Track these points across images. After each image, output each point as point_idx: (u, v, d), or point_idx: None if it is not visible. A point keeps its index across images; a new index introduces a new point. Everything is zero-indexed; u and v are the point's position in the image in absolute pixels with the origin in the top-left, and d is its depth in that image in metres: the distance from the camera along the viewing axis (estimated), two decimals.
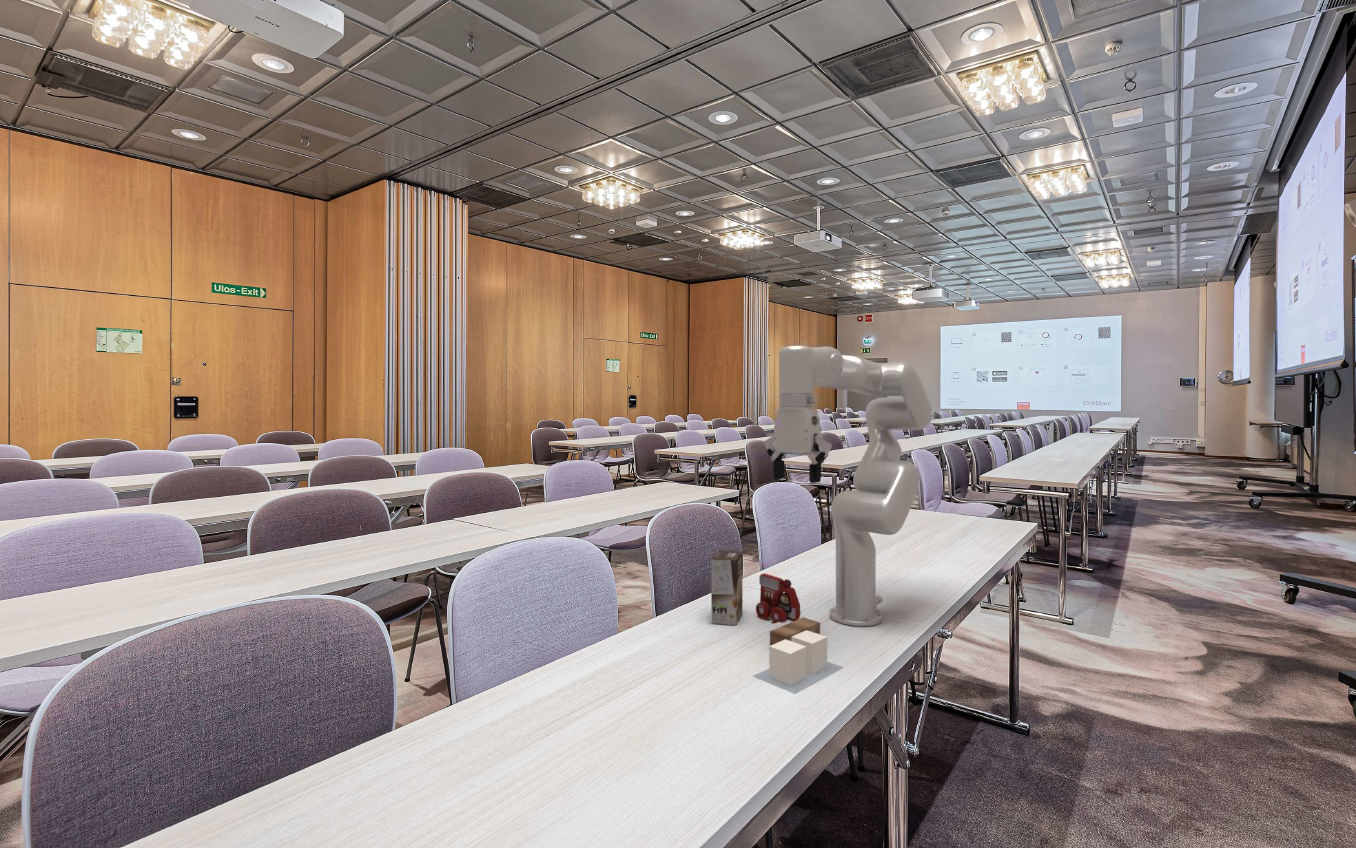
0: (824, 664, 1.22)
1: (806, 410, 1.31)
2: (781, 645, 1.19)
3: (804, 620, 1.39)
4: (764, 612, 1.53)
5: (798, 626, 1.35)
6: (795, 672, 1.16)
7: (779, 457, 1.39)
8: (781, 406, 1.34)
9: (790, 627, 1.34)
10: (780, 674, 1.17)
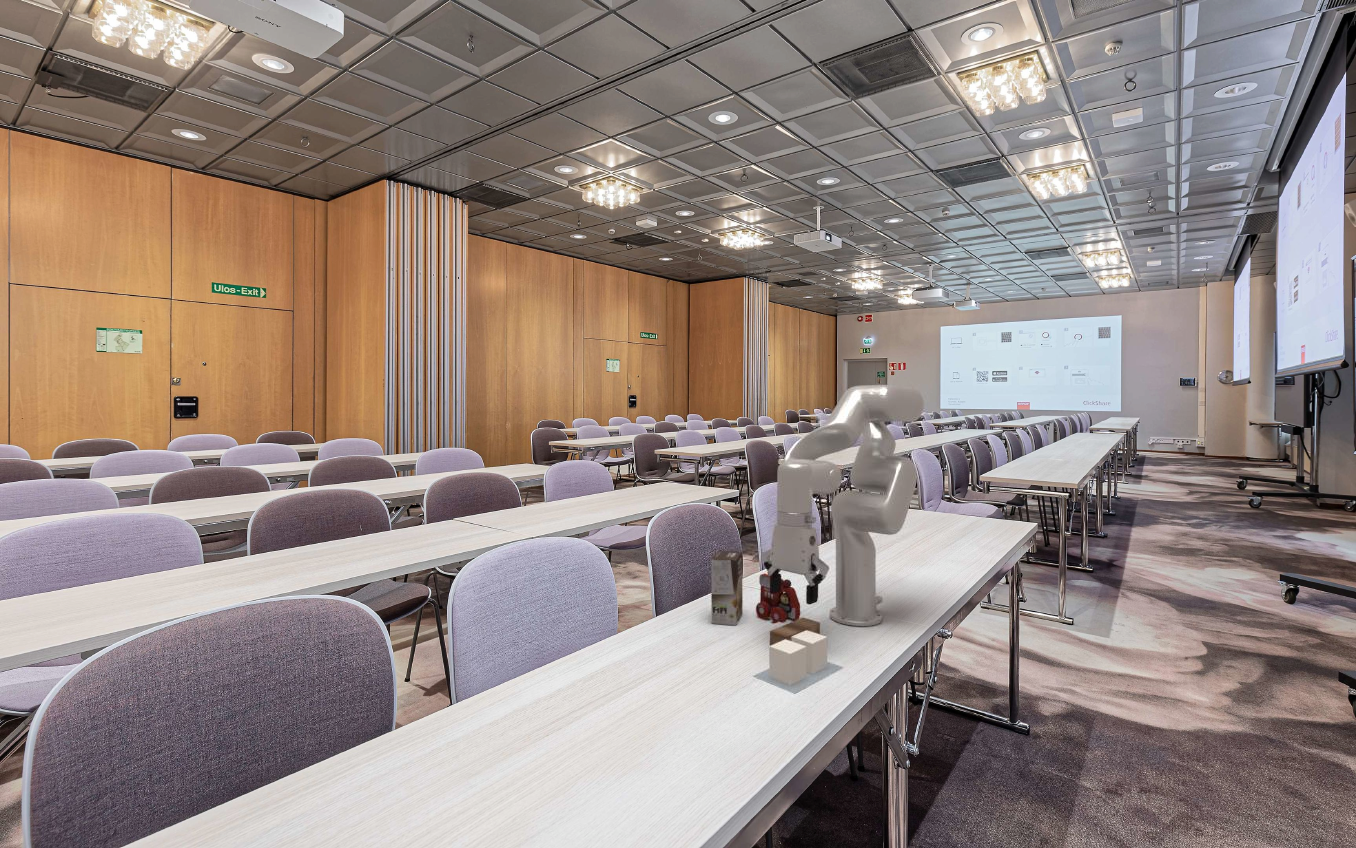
0: (824, 664, 1.22)
1: (804, 530, 1.30)
2: (781, 645, 1.19)
3: (804, 620, 1.39)
4: (764, 612, 1.53)
5: (798, 626, 1.35)
6: (795, 672, 1.16)
7: (776, 571, 1.38)
8: (779, 523, 1.33)
9: (790, 627, 1.34)
10: (780, 674, 1.17)
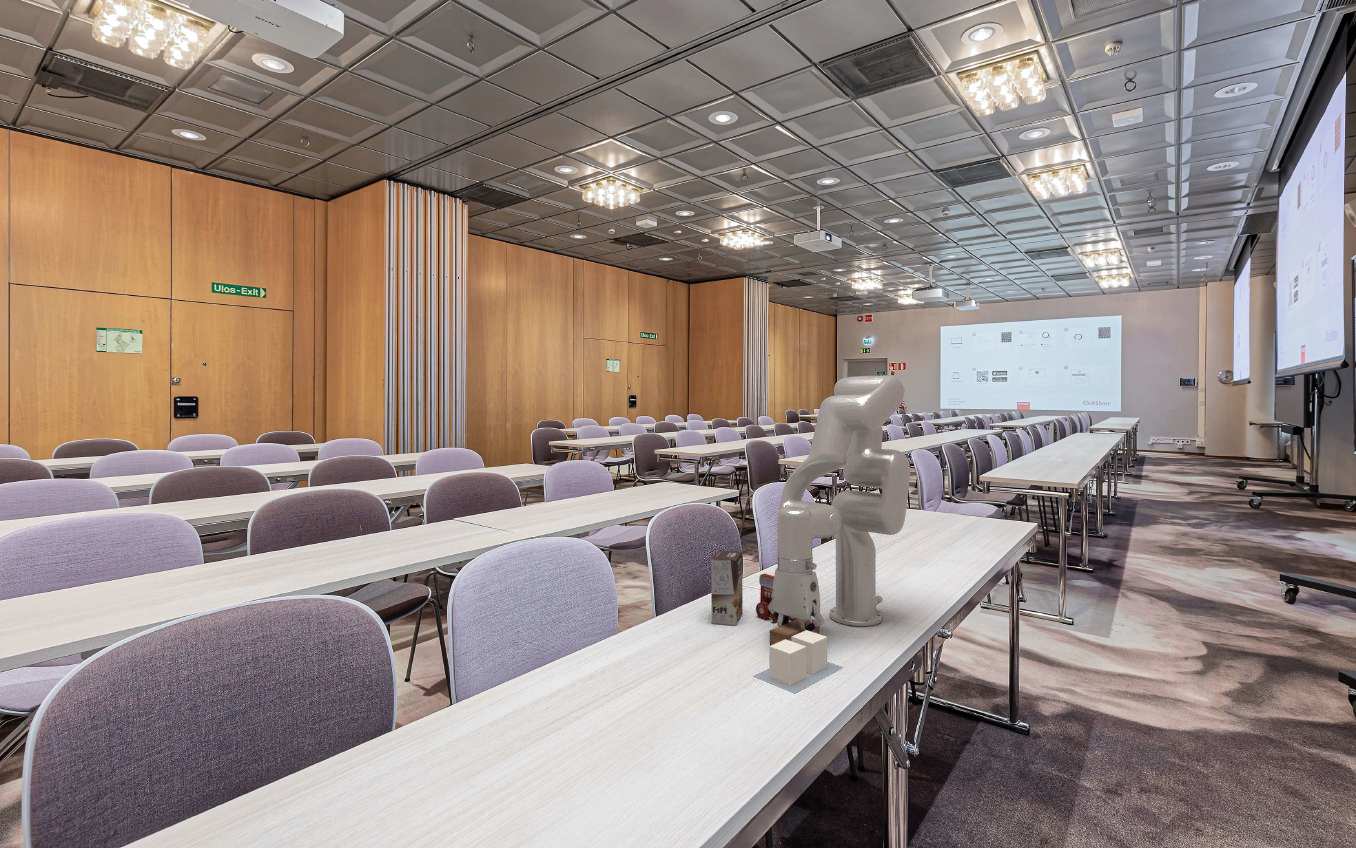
0: (824, 664, 1.22)
1: (805, 577, 1.30)
2: (781, 645, 1.19)
3: None
4: (764, 612, 1.53)
5: (798, 625, 1.35)
6: (795, 672, 1.16)
7: (785, 621, 1.37)
8: (779, 569, 1.33)
9: (790, 626, 1.34)
10: (780, 674, 1.17)
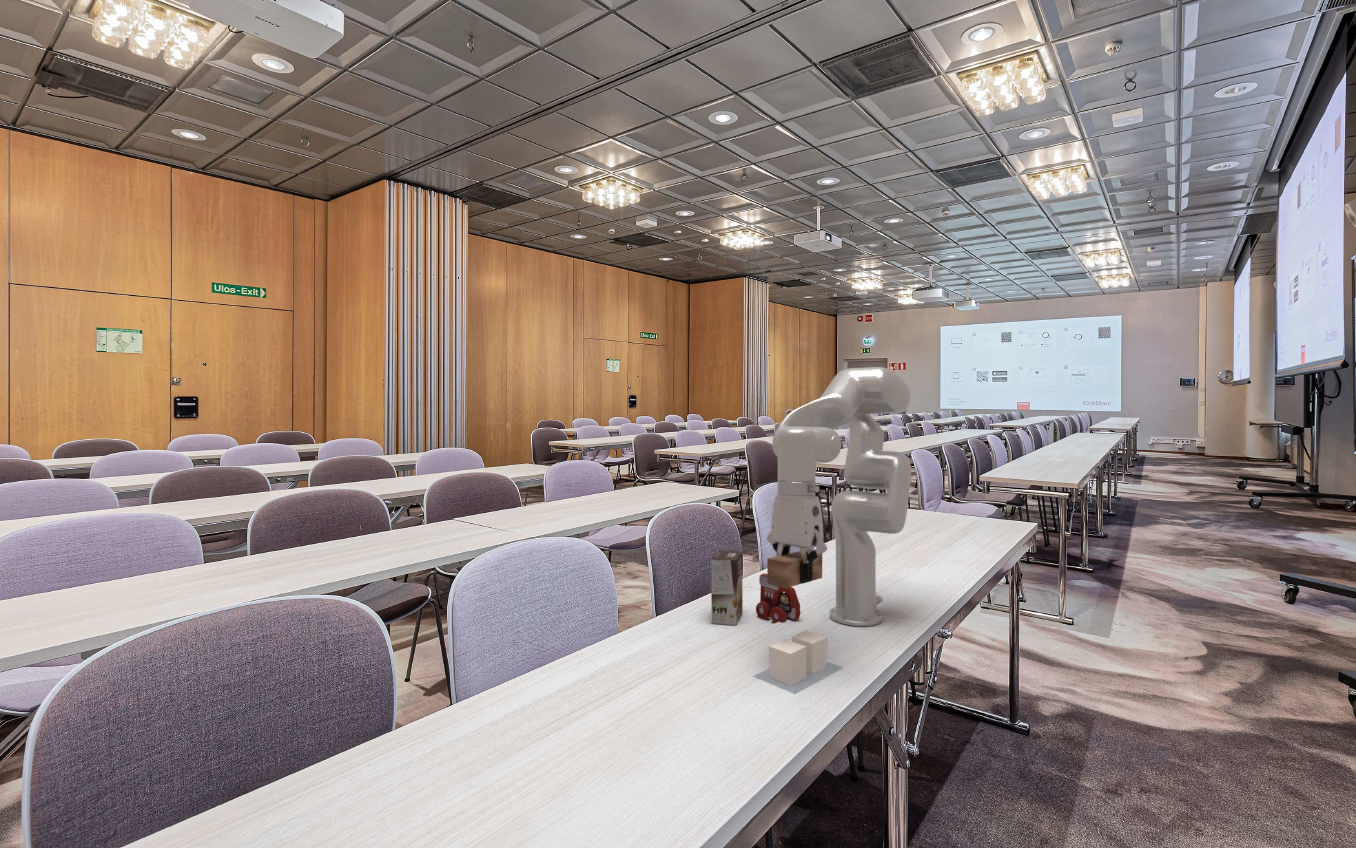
0: (824, 664, 1.22)
1: (806, 500, 1.20)
2: (781, 645, 1.19)
3: None
4: (764, 612, 1.53)
5: (799, 556, 1.25)
6: (795, 672, 1.16)
7: (785, 552, 1.27)
8: (779, 493, 1.23)
9: (789, 556, 1.24)
10: (780, 674, 1.17)
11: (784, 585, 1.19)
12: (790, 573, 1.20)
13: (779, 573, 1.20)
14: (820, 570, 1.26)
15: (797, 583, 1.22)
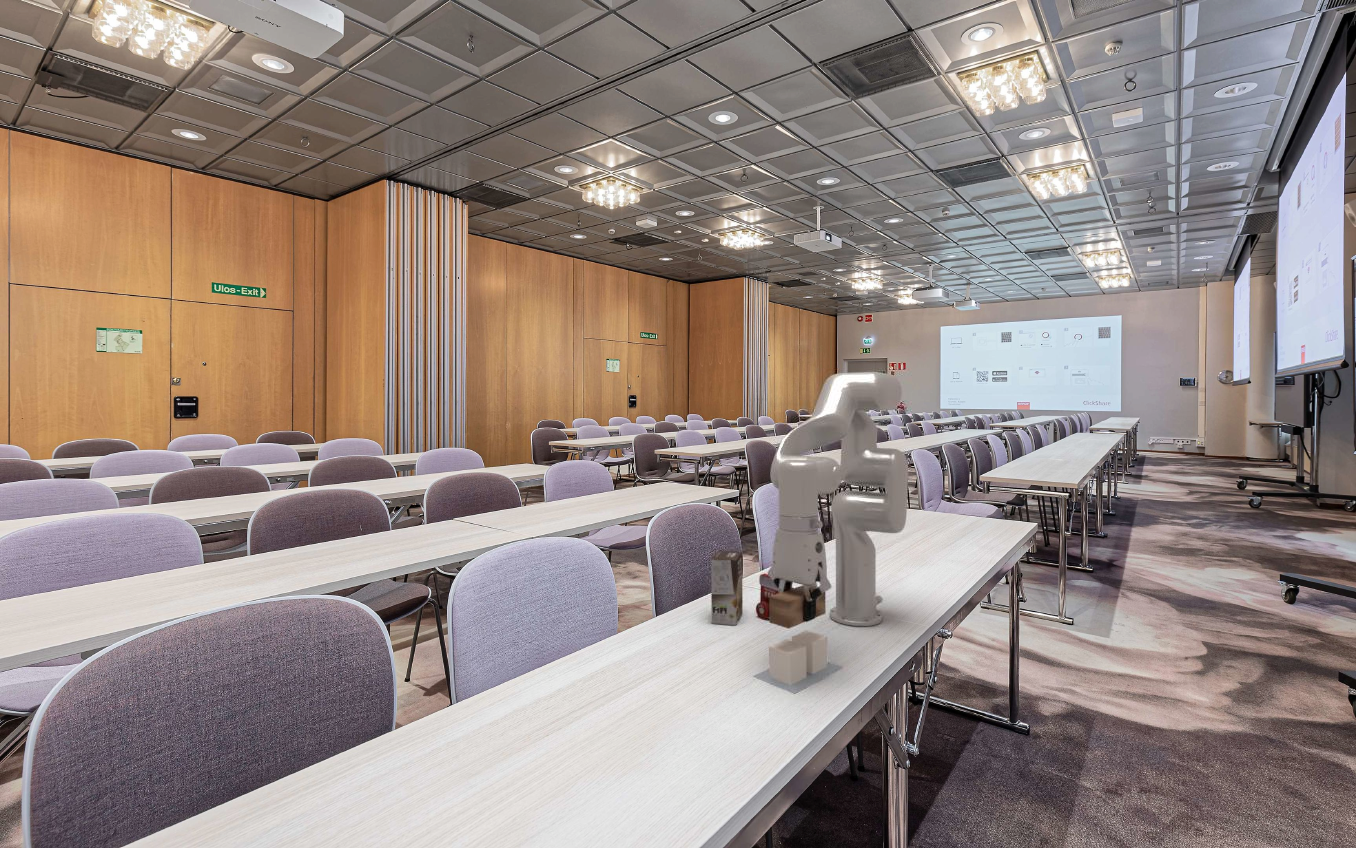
0: (824, 664, 1.22)
1: (809, 536, 1.16)
2: (781, 645, 1.19)
3: None
4: (764, 612, 1.53)
5: (801, 592, 1.20)
6: (795, 672, 1.16)
7: (787, 587, 1.22)
8: (781, 529, 1.19)
9: (792, 593, 1.20)
10: (780, 674, 1.17)
11: (787, 625, 1.15)
12: (794, 613, 1.16)
13: (782, 613, 1.15)
14: (823, 606, 1.22)
15: (800, 622, 1.17)
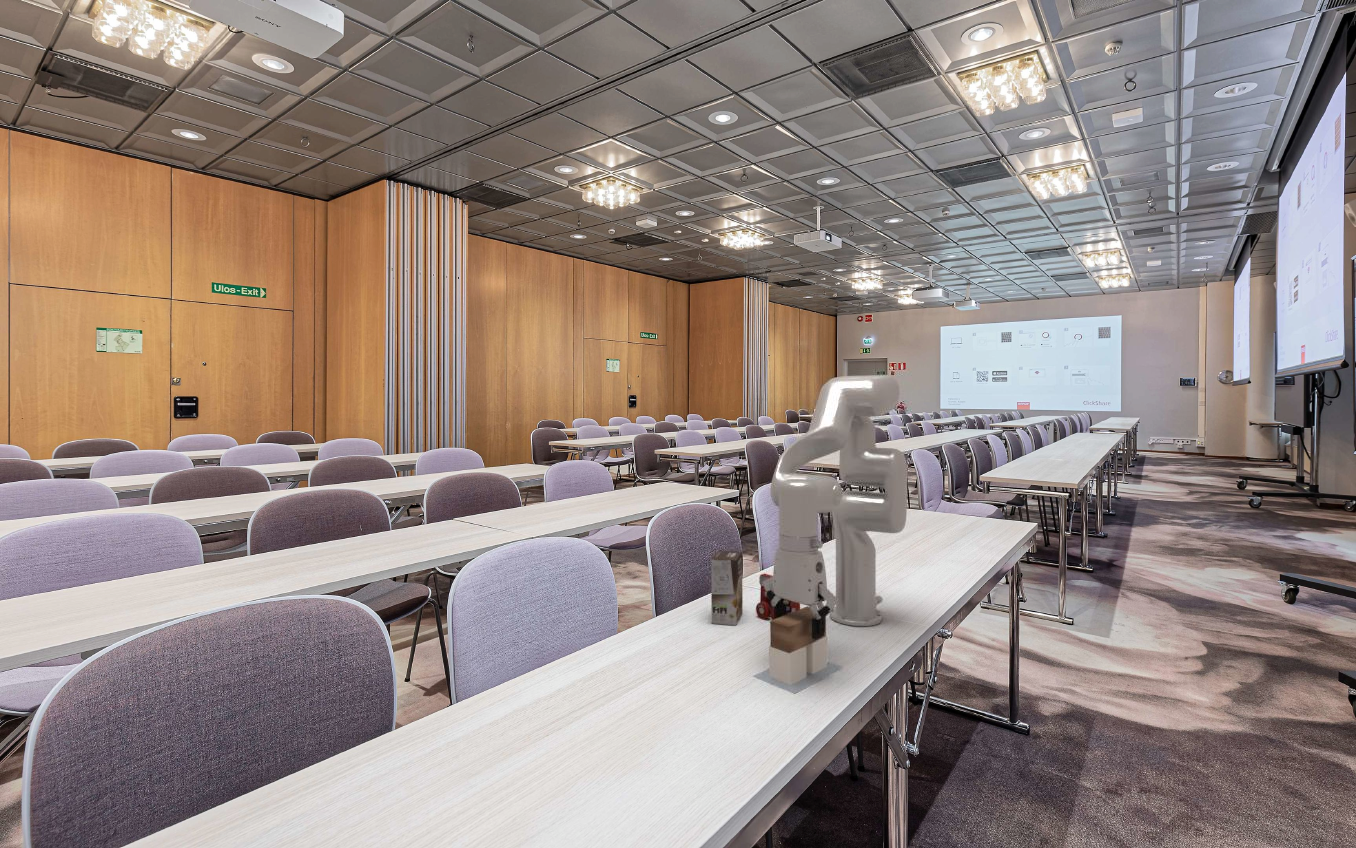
0: (824, 664, 1.22)
1: (809, 556, 1.16)
2: None
3: (808, 609, 1.24)
4: (764, 612, 1.53)
5: (802, 616, 1.21)
6: (795, 672, 1.16)
7: (780, 601, 1.24)
8: (781, 548, 1.19)
9: (793, 617, 1.20)
10: (780, 674, 1.17)
11: (788, 650, 1.15)
12: (794, 637, 1.16)
13: (783, 637, 1.16)
14: None
15: (801, 646, 1.18)
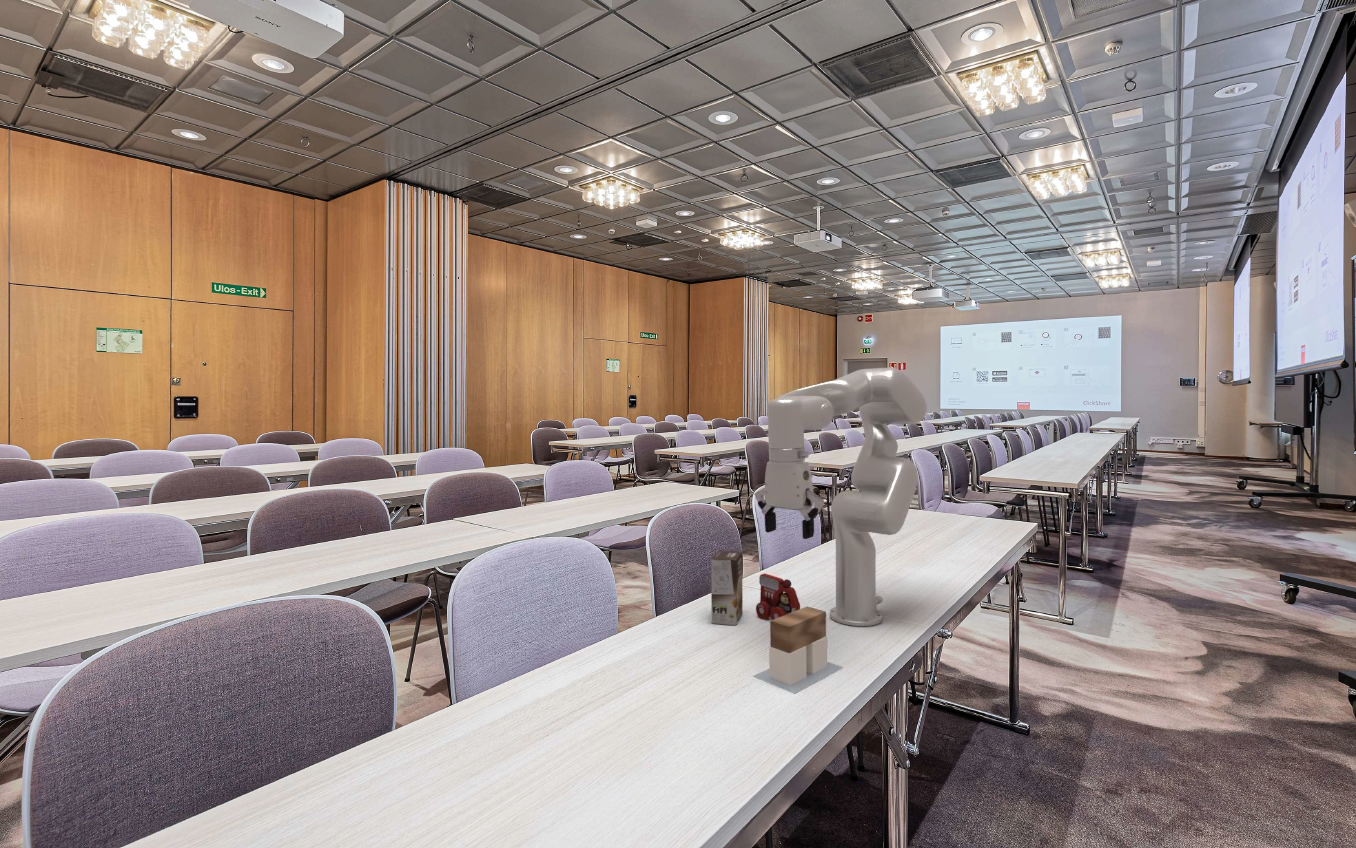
0: (824, 664, 1.22)
1: (797, 465, 1.28)
2: None
3: (808, 609, 1.24)
4: (764, 612, 1.53)
5: (802, 616, 1.21)
6: (795, 672, 1.16)
7: (770, 509, 1.37)
8: (771, 461, 1.31)
9: (793, 617, 1.20)
10: (780, 674, 1.17)
11: (788, 650, 1.15)
12: (794, 637, 1.16)
13: (783, 637, 1.16)
14: (823, 629, 1.23)
15: (801, 646, 1.18)
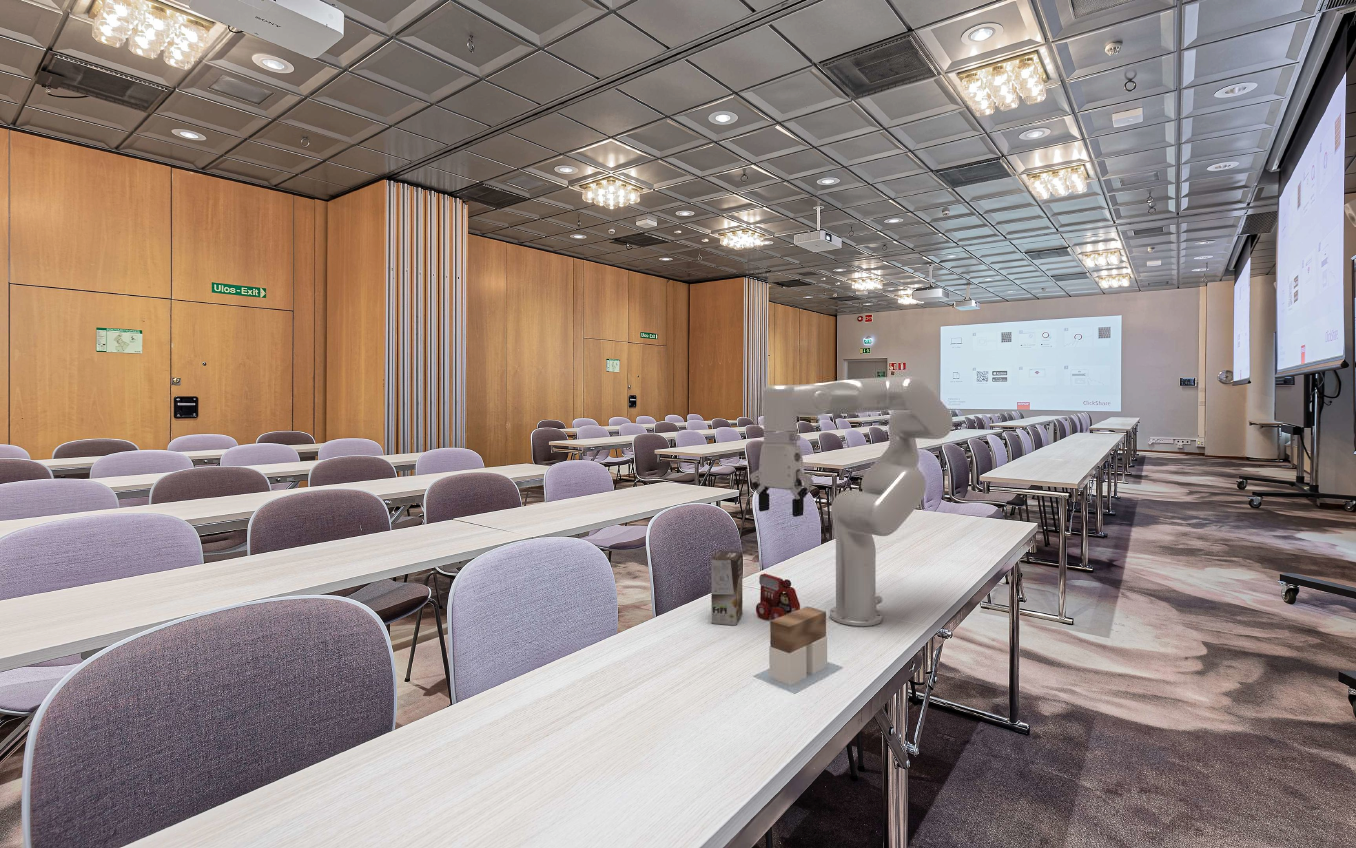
0: (824, 664, 1.22)
1: (789, 447, 1.37)
2: None
3: (808, 609, 1.24)
4: (764, 612, 1.53)
5: (802, 616, 1.21)
6: (795, 672, 1.16)
7: (764, 490, 1.45)
8: (765, 443, 1.40)
9: (793, 617, 1.20)
10: (780, 674, 1.17)
11: (788, 650, 1.15)
12: (794, 637, 1.16)
13: (783, 637, 1.16)
14: (823, 629, 1.23)
15: (801, 646, 1.18)
